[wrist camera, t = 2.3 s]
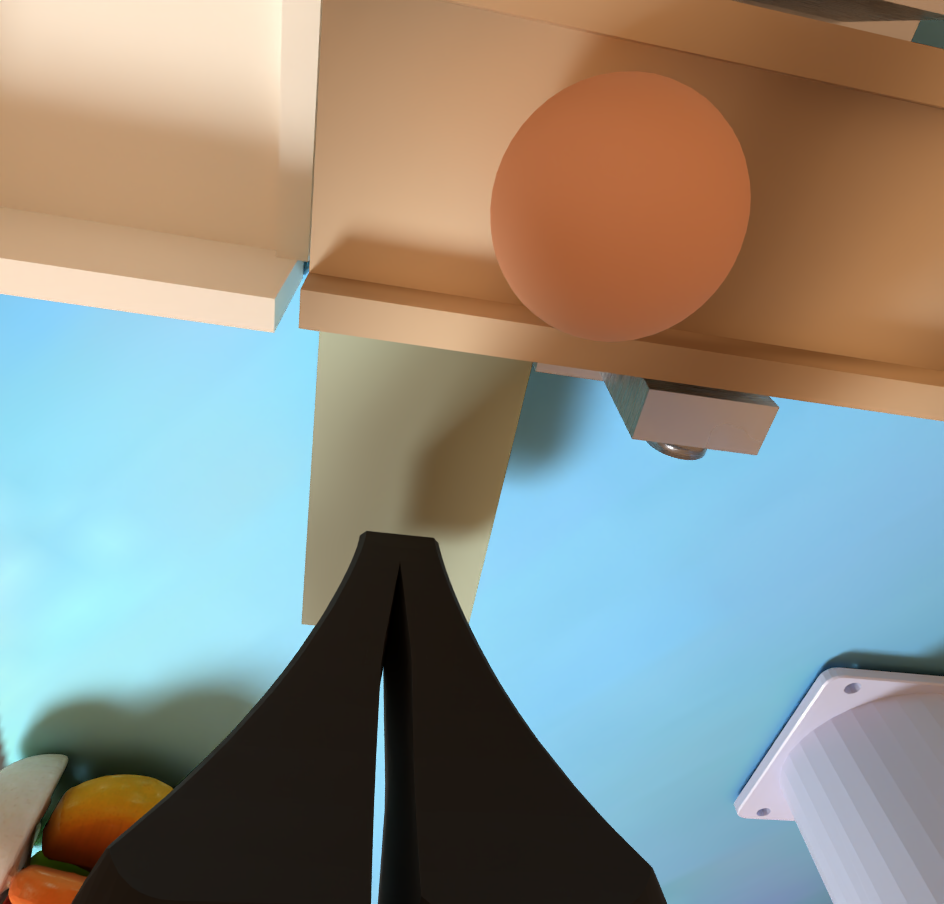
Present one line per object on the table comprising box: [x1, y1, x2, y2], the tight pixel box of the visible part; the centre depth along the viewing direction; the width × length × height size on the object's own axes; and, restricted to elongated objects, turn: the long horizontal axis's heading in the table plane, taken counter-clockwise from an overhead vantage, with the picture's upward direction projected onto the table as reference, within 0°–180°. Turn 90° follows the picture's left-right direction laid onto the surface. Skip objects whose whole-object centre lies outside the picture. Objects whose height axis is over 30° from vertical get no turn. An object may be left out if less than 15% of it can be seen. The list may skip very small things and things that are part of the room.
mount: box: [533, 0, 944, 460], centre depth 12 cm, size 5×9×4 cm, turn 170°
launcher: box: [299, 0, 944, 625], centre depth 13 cm, size 14×12×3 cm
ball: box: [490, 71, 751, 342], centre depth 9 cm, size 3×3×3 cm
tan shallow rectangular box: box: [0, 0, 323, 333], centre depth 11 cm, size 9×6×3 cm
